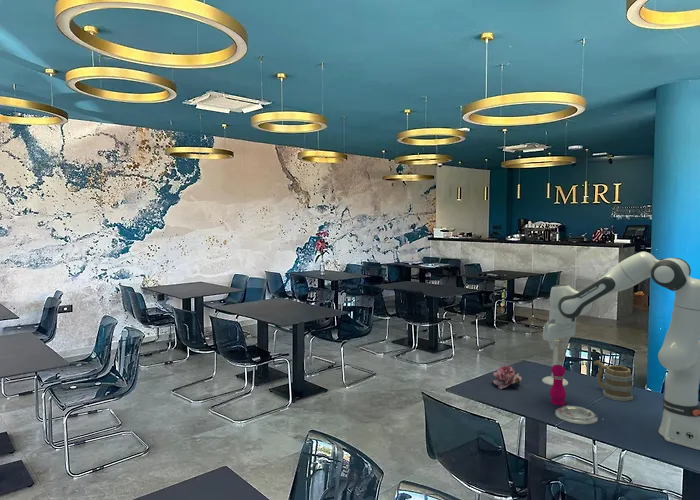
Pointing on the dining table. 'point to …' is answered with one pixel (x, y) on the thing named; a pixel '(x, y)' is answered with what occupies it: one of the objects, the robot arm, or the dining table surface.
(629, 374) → the tankard
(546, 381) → the candlestick
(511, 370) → the flower
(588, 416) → the silver metal plate
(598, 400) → the dining table surface
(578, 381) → the dining table surface
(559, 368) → the pepper mill
